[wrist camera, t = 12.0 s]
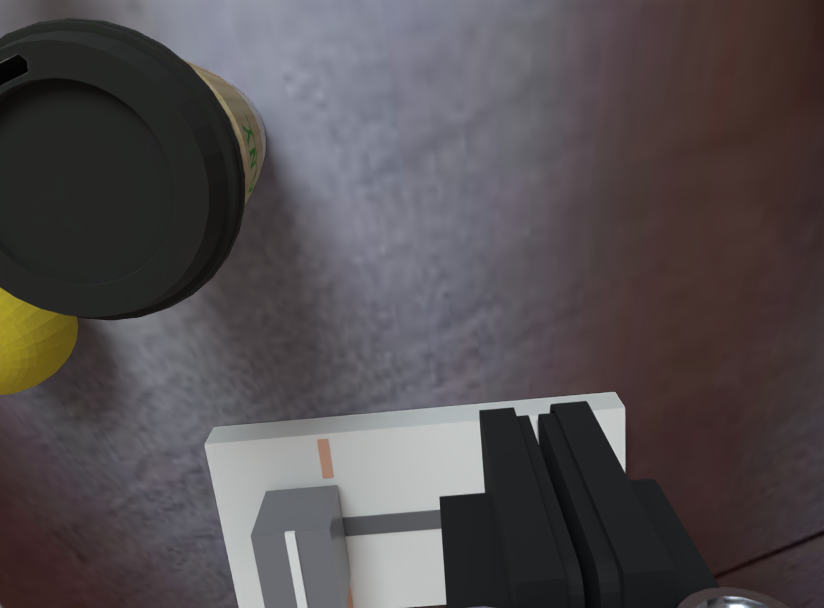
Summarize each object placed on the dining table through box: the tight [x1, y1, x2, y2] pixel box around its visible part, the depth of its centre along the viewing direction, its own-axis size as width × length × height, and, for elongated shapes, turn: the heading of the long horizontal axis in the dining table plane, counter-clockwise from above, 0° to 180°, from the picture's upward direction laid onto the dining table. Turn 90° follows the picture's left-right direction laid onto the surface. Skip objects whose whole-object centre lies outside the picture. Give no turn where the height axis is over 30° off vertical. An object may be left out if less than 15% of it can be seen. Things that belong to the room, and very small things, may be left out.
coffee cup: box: [0, 18, 266, 320], centre depth 29 cm, size 10×10×15 cm
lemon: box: [0, 288, 78, 395], centre depth 35 cm, size 6×6×8 cm
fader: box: [251, 485, 351, 608], centre depth 39 cm, size 4×6×4 cm, turn 6°
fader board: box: [204, 392, 625, 608], centre depth 42 cm, size 23×12×2 cm, turn 96°
